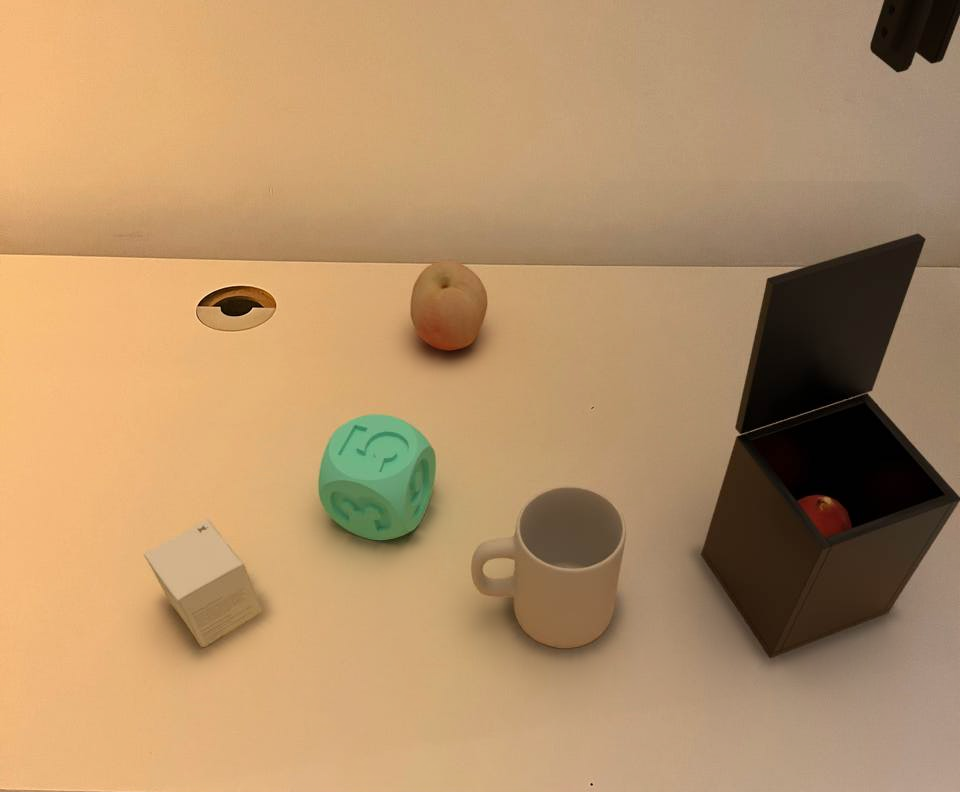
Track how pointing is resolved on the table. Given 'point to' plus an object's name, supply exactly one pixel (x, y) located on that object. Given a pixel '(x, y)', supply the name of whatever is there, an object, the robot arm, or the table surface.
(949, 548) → the table surface
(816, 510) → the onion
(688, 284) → the table surface
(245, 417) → the table surface
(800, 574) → the dark wooden storage box
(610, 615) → the mug
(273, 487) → the table surface
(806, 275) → the lid
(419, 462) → the decorative dice
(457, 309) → the fruit
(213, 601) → the product box
